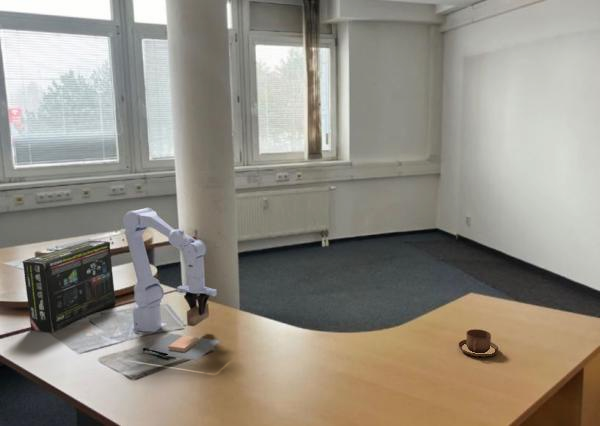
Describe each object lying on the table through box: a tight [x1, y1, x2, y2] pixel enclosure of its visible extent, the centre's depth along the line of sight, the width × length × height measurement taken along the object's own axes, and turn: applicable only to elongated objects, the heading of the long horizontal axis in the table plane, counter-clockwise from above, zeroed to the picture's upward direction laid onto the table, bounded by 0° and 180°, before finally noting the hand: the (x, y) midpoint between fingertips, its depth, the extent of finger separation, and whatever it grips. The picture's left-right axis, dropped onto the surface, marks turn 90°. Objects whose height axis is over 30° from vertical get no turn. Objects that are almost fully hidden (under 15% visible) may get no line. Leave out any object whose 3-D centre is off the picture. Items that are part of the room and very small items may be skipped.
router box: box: [22, 240, 117, 333], centre depth 206 cm, size 36×11×27 cm, turn 160°
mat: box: [142, 333, 221, 361], centre depth 176 cm, size 20×16×1 cm
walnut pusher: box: [186, 302, 210, 327], centre depth 184 cm, size 2×10×5 cm, turn 159°
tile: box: [168, 335, 200, 352], centre depth 176 cm, size 6×1×9 cm
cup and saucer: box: [458, 328, 499, 358], centre depth 168 cm, size 12×12×6 cm
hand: (198, 313), depth 184 cm, fingers closed on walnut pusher, 2 cm apart
